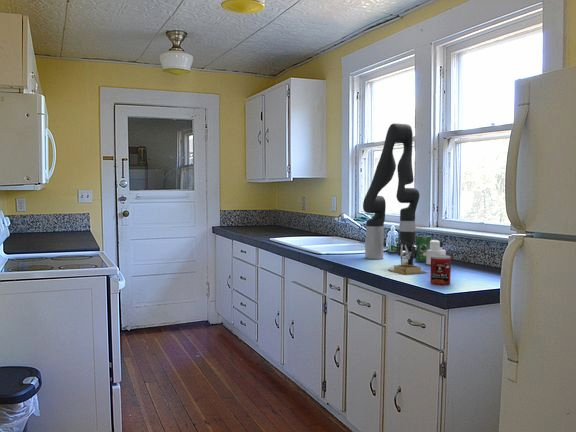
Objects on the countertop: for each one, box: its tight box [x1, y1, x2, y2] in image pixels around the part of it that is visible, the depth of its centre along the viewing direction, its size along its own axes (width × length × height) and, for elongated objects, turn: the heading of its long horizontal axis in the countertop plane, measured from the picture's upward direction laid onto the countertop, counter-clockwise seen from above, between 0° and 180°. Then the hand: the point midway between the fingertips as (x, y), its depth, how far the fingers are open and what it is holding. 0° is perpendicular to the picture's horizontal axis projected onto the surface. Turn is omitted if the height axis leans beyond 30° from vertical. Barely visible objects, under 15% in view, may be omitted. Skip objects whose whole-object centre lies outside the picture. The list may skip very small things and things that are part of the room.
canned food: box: [429, 255, 452, 286], centre depth 210 cm, size 8×8×11 cm
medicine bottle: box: [425, 239, 447, 266], centre depth 260 cm, size 7×7×12 cm
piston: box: [402, 254, 409, 265], centre depth 250 cm, size 5×5×5 cm
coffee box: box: [414, 235, 432, 263], centre depth 269 cm, size 8×3×13 cm, turn 117°
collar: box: [388, 264, 428, 276], centre depth 237 cm, size 12×12×3 cm
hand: (406, 265), depth 251 cm, fingers closed on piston, 4 cm apart
